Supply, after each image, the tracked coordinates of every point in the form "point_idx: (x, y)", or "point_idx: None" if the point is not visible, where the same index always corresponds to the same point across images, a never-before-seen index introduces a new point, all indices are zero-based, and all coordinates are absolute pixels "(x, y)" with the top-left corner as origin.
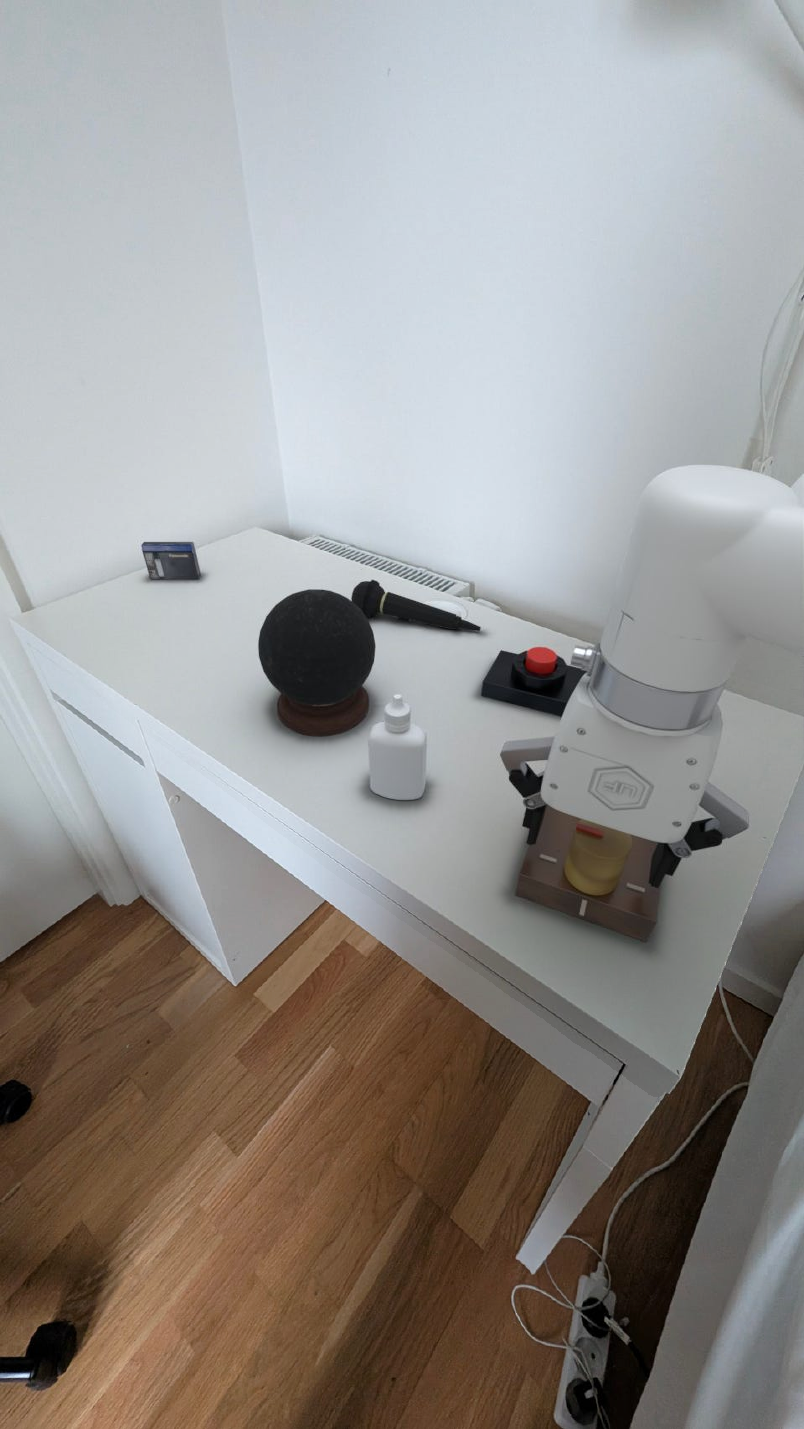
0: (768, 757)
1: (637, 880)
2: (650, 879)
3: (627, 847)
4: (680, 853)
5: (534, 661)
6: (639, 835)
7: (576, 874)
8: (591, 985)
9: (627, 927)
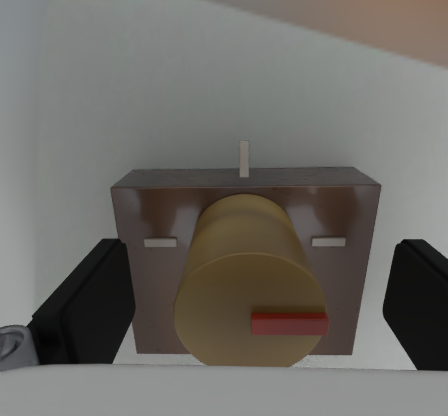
0: None
1: (161, 258)
2: (120, 250)
3: (182, 308)
4: (8, 338)
5: None
6: (112, 374)
7: (277, 214)
8: (196, 47)
9: (162, 174)
